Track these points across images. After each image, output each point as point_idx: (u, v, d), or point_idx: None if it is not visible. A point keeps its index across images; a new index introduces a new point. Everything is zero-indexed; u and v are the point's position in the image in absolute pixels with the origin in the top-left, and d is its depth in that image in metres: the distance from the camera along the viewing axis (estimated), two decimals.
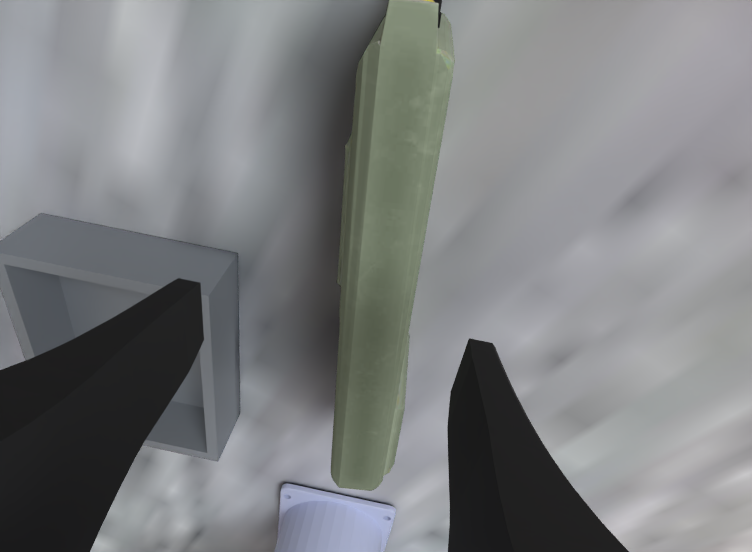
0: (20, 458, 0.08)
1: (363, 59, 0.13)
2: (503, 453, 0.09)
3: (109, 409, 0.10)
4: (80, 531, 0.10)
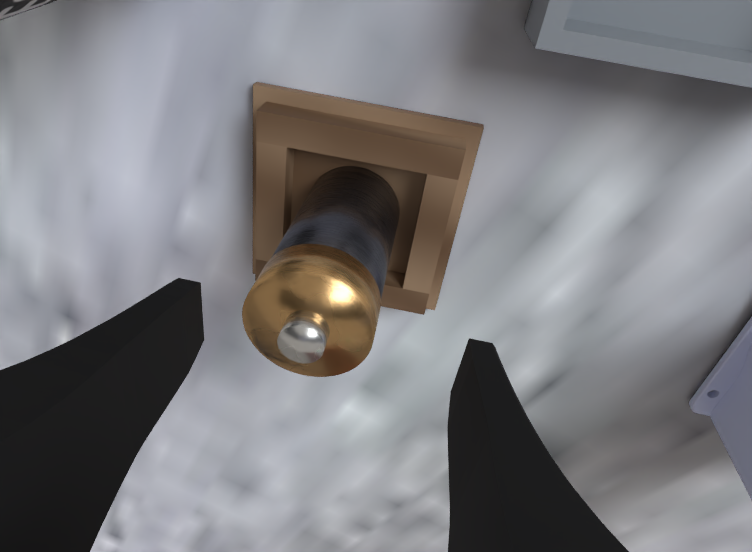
0: (20, 458, 0.08)
1: None
2: (503, 453, 0.09)
3: (109, 409, 0.10)
4: (80, 531, 0.10)
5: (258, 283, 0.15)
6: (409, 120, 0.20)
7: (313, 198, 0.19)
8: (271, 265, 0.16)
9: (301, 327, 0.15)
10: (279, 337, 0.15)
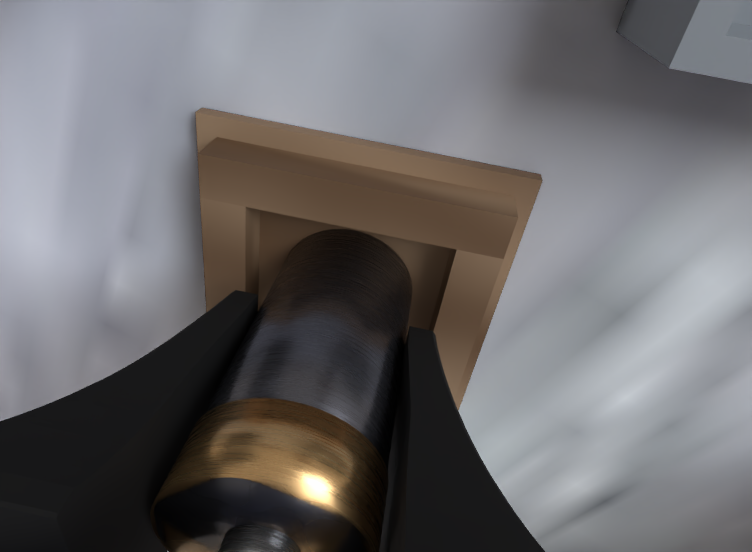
0: (116, 480, 0.08)
1: None
2: (420, 435, 0.09)
3: (183, 424, 0.10)
4: (155, 548, 0.10)
5: (172, 483, 0.08)
6: (430, 167, 0.13)
7: (284, 287, 0.13)
8: (200, 441, 0.09)
9: None
10: None
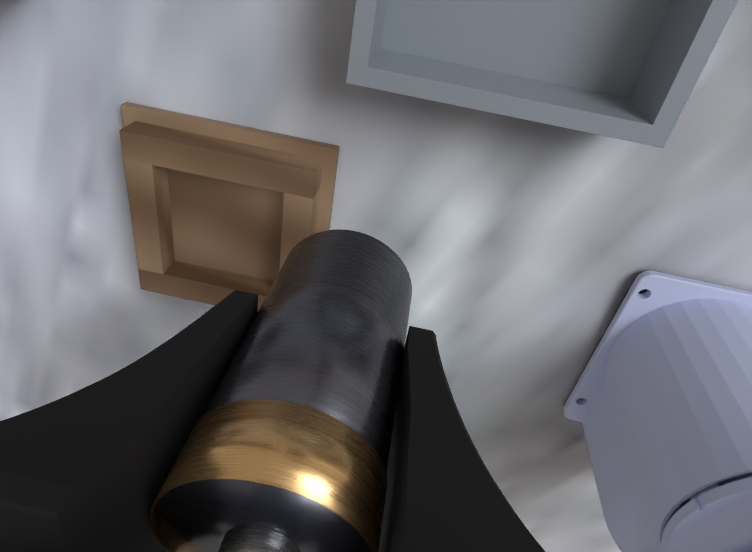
0: (116, 479, 0.08)
1: None
2: (421, 435, 0.09)
3: (183, 424, 0.10)
4: (155, 547, 0.10)
5: (173, 484, 0.08)
6: (268, 141, 0.21)
7: (284, 288, 0.13)
8: (200, 442, 0.09)
9: None
10: None
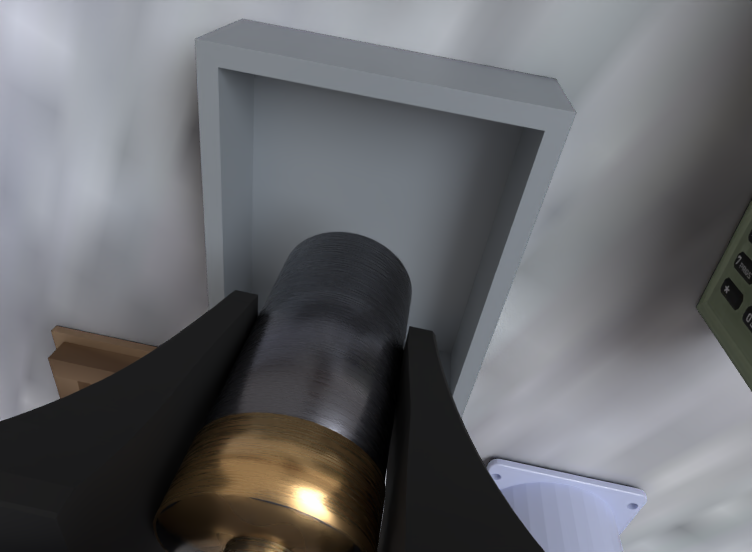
0: (116, 479, 0.08)
1: None
2: (420, 435, 0.09)
3: (183, 425, 0.10)
4: (155, 548, 0.10)
5: (178, 496, 0.09)
6: None
7: (287, 292, 0.13)
8: (205, 454, 0.09)
9: None
10: None
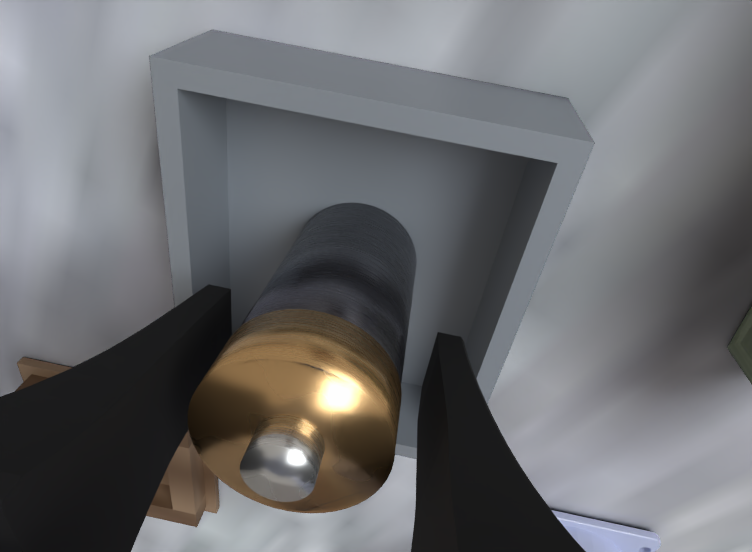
0: (71, 469, 0.08)
1: None
2: (460, 444, 0.09)
3: (148, 417, 0.10)
4: (120, 540, 0.10)
5: (217, 369, 0.09)
6: None
7: (307, 241, 0.14)
8: (241, 339, 0.10)
9: (282, 447, 0.09)
10: (244, 460, 0.09)
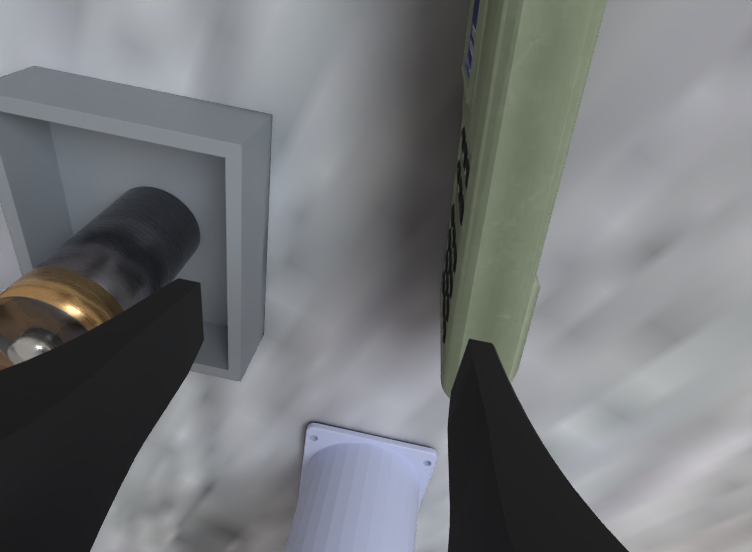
0: (21, 458, 0.08)
1: None
2: (503, 453, 0.09)
3: (109, 409, 0.10)
4: (80, 531, 0.10)
5: None
6: None
7: (96, 218, 0.21)
8: (12, 285, 0.17)
9: (25, 344, 0.16)
10: (8, 351, 0.17)
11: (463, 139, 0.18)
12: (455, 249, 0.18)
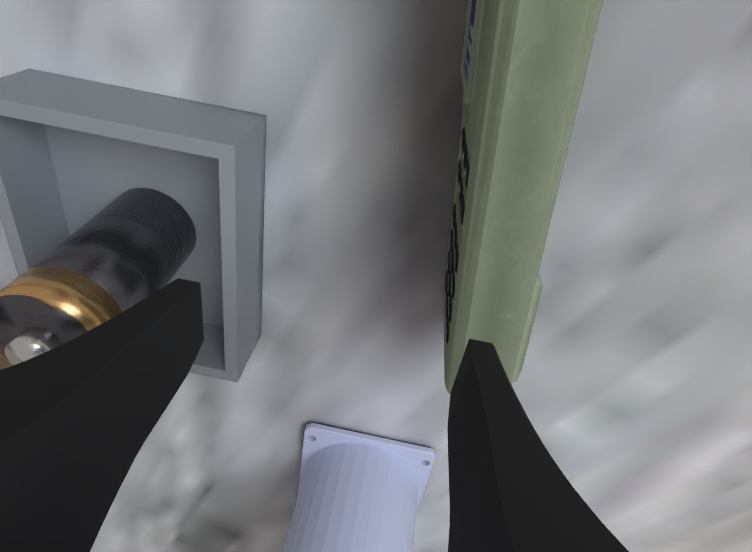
0: (20, 458, 0.08)
1: None
2: (503, 453, 0.09)
3: (109, 409, 0.10)
4: (80, 531, 0.10)
5: None
6: None
7: (92, 218, 0.21)
8: None
9: (23, 343, 0.16)
10: (6, 350, 0.17)
11: (463, 139, 0.18)
12: (457, 249, 0.18)
